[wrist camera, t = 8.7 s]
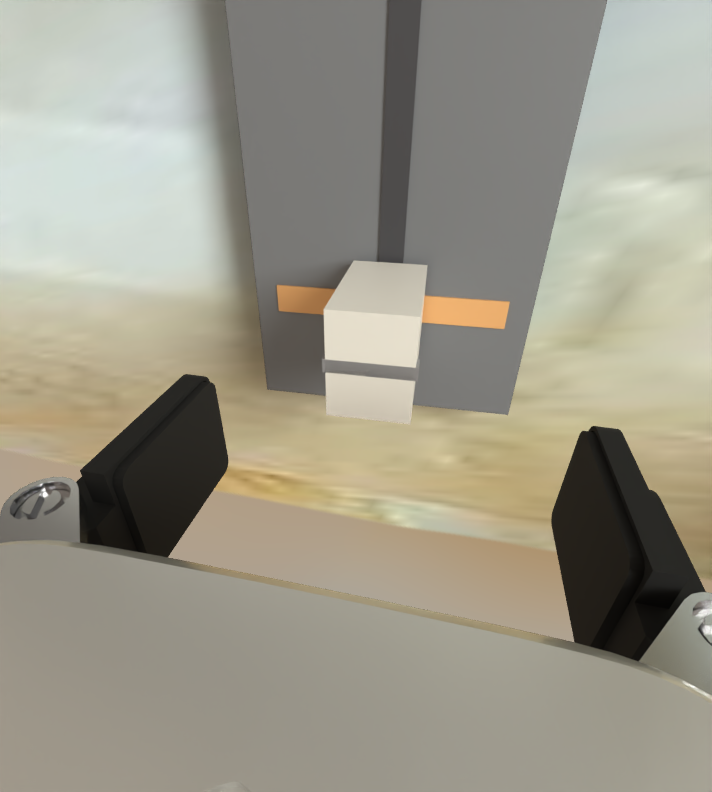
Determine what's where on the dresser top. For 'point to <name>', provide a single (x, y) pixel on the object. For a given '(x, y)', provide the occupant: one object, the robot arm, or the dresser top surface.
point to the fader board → (408, 169)
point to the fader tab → (374, 341)
